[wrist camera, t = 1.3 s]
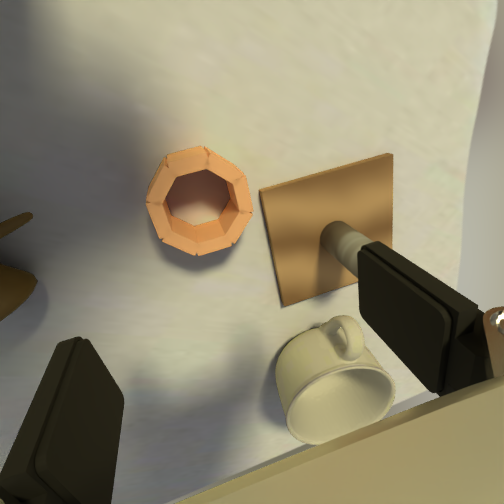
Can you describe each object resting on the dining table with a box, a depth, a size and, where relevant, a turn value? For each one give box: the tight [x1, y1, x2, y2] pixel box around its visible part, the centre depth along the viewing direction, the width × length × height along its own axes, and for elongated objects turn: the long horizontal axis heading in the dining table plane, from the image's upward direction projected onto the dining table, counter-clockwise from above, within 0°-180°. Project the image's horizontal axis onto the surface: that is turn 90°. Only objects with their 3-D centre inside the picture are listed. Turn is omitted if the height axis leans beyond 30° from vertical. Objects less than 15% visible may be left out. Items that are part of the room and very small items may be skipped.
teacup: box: [275, 315, 396, 445], centre depth 31 cm, size 14×11×8 cm
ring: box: [146, 146, 253, 256], centre depth 23 cm, size 7×7×4 cm
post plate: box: [259, 153, 393, 306], centre depth 26 cm, size 12×12×6 cm
